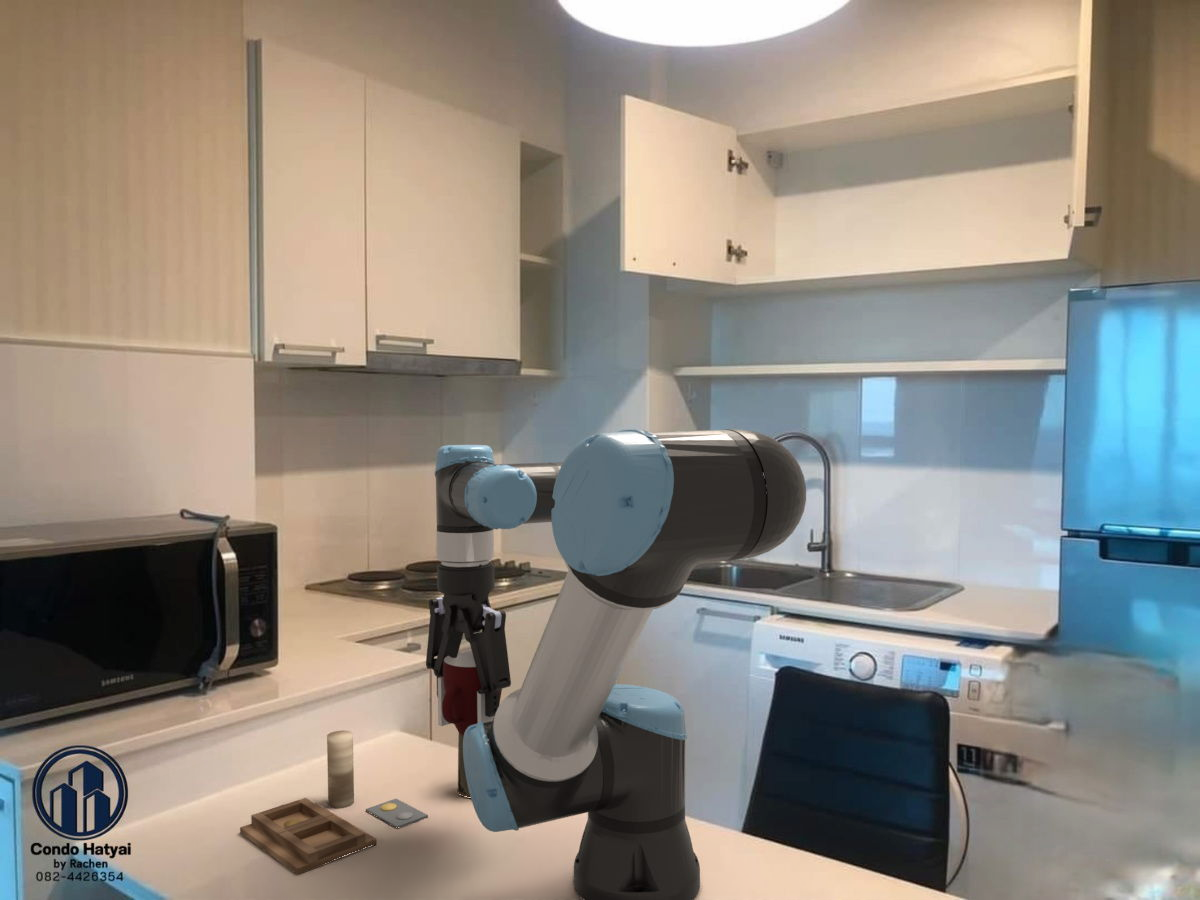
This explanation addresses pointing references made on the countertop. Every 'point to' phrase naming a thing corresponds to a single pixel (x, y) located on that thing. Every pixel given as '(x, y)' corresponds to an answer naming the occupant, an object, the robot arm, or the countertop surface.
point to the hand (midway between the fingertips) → (467, 730)
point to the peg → (340, 769)
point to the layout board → (304, 835)
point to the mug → (461, 691)
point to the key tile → (397, 813)
